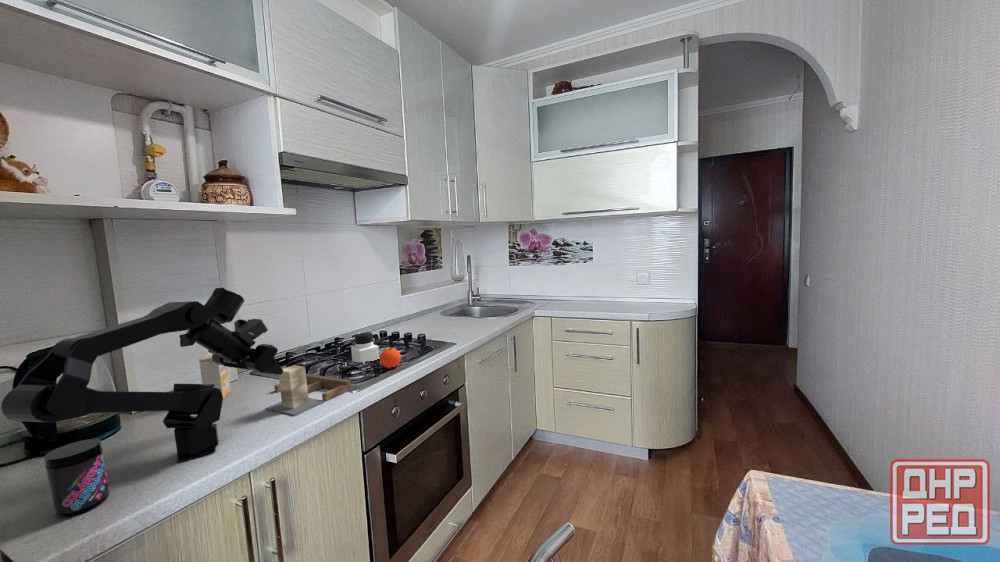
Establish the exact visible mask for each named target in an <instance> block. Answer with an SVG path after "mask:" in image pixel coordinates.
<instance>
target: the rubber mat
mask: <svg viewBox="0 0 1000 562" xmlns="http://www.w3.org/2000/svg"><path fill="white" fill-rule="evenodd" d="M308 398H309V402H308V403H306V404H303V405H301V406H299V407H297V408H294V409H292V408H287V407H282V400H281V401H279V402H276V403H274V404H272V405H269V406H267V407H265V410H267V411H271V412H276V413H281V414H284V415H289V416H293V417H296V416H298V415H300V414H302V413H304V411H305V412H306V410H307V411H309V410H310V409H313V408H315V407H317V405H318V406H319V405H322V404H324V403H325V402H326V401H323V399H318V398H312V397H308Z"/></svg>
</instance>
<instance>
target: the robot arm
mask: <svg viewBox="0 0 1000 562" xmlns="http://www.w3.org/2000/svg"><path fill="white" fill-rule="evenodd" d="M244 303H245V298H243V296H242V295H241V294H238V293H236V292H234V291H231V290H228V289H225V287H216V288H214V290H213V292H212V293H211V296H209V298H208V300H207V301H206V302H205V304H202V303H200V301H198V300H197V301H196V300H195V301H194V300H192V301H191V300H190V301H189V300H188V301H170V302H167V303H164V304H163V305H161V306H158V307H156V308H154V309H152V310H151V311H150V312H149V313H147V314H146V315H144V316H142V317H138V318H135V319H132V320H128V321H125V322H122V323H118V324H115V325H112V326H108V327H105V328H102V329H99V330H96V331H93V332H89V333H85V334H83V335H79V336H78V335H77V336H76V337H69V338H64V339H61V340H60V341H59V340H58V341H59V342H56V343H55V344H54V345H53V346H52V347H51V349H50V351H49V352H48V353H47V355H46V356H45V357H43V359H42V360H40V361H39V362H38V363H37V364H36V365H34V366H33V367H32V368H31V369H30V370H29V371H28V372H27V373H26V374H25V375H24V376H23V377H22V379H21V380H20V381H19V383H18V384H17V386H16V387H15V388H13V389H11V390H10V391H9V392H8V393H7V394H6V395H5V396H4V398H3V400H2V402H1V406H0V409H1V412H2V415H4V416H5V417H6V419H7V420H10V421H14V422H29V423H30V422H32V423H56V422H57V423H58V422H63V421H68V420H73V419H79V418H81V417H82V418H83V417H85V416H89V415H93V414H101V413H102V414H103V413H104V414H105V413H106V414H107V413H109V414H110V413H134V412H136V413H139V412H167V414H166V415H165V417H164V418H163V420H162V422H163V425H164V426H165V427H166V429H174V431H173V433H174V440H175V441H174V442H175V446H176V454H177V456H176V460H175V461H176V462H175V463H181V462H186V461H188V460H191V459H195V458H200V457H203V456H206V455H210V454H213V453H215V452H216V449H217V446H218V445H219V441H220V438H219V434H218V426H217V424H216V422H218V421H220V418H221V412H222V407H223V401H224V399H223V396H222V393H221V390H220V389H219V388H213V387H214V384H202V383H173V389H172V390H169V391H122V390H121V391H120V390H119V391H116V390H113V391H111V390H110V391H109V390H98V389H94V388H91V387H88V385H89V384H90V381H91V375H92V370H93V364H94V362H95V361H96V360H97V358H98V357H100V356H104V355H106V354H108V353H112V352H115V351H118V350H120V349H122V348H126V347H128V346H129V347H130V346H131V345H134V344H136V343H139V342H143V341H146V340H149V339H152V338H154V337H157V336H160V335H163V334H168V333H169V334H170V333H175V332H185V331H186V333H182V334H179V346H180V347H181V348H185V347H190V346H194V344H198V345H199V346H201V347H203V348H205V349H206V350H208V351H207V352H208V353H211V354H213V355H212V361H213V362H215V363H217V364H218V365H223V366H226V367H228V368H234V369H242V370H247V371H248V370H250V371H253V372H255V373H260V374H271V375H278V376H279V375H281V374H282V373H283V370H282V369H283V368H282V367H281V366H280V364H279V363H278V361H277V360H276V358H275V356H276V355H277V353H278V351H279V349H278V348H277V347H276V346H274V345H273V344H268V343H261V344H257V346H256V347H255V348H253V347H254V345H255V344H256V341H255V340H256V339H257V338H258V337H260V336H261V335H262V334H266V333H267V332H268V330H269V328H267V326H266V323H264V321H263V319H261V318H251V319H247V320H245V319H242V318H239V319H237V320H236V321H235V322H234V323H233V324H234V330H230V329H229V328H227V327H225V326H224V324H226V323H227V324H229V323H232V321H233V320H234V319H235V317H236V316H237V314H238V312H239V311H240V309H241V307H242V306H243V304H244ZM59 377H60V378H59ZM58 378H59V380H58V381H57V382H54V381H56V380H57V379H58Z"/></svg>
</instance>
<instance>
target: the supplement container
mask: <svg viewBox="0 0 1000 562" xmlns="http://www.w3.org/2000/svg"><path fill="white" fill-rule="evenodd" d="M43 462H44V468H45V471H46V476H47V482H48V487H49V493H50V497H51V503H52V508H53V513H54V514H53V515H55V516H56V517H59V518H70V517H71V518H72V517H75V516H78V515H81V514H83V513H86V512H89V511H91V510H93V509H96V508H98V507H99V506H100V505H101V504H103V503H105V502H106V501H107V499H108V498H109V497H110V494H111V492H110V486H109V479H108V474H107V468H106V463H105V462H106V461H105V457H104V449H103V444H102V440H101V439H100V438H89V439H84V440H83V439H82V440H79V441H75V442H72V443H68V444H66V445H62V446H59V447H57V448H55V449H53V450H51V451H49V452H47V453H46V454H45V455H44V456H43Z"/></svg>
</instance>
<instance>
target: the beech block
mask: <svg viewBox="0 0 1000 562" xmlns="http://www.w3.org/2000/svg"><path fill="white" fill-rule="evenodd" d="M282 370H283V373H282V374H281V375H278V381H279V383H280V390H281V391H280V397H281V401H282V407H287V408H292V409H294V408H297V407H299V406H301V405H303V404H306V403H308V402H309V398H310V397H309V394H308V389H307V381H306V374H307V373H306V366H301V365H296V364H295V365H294V364H293V365H290V366H288V367H284V368H282Z"/></svg>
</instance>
